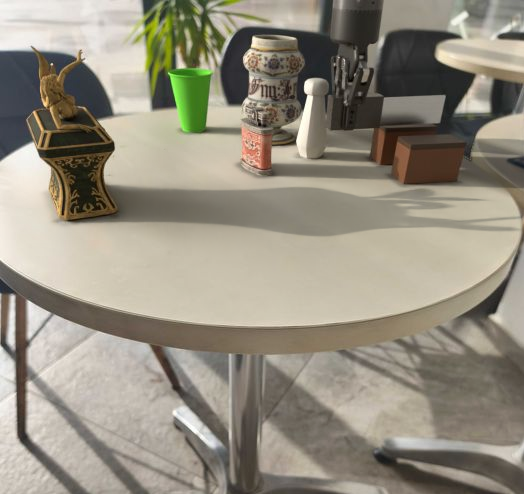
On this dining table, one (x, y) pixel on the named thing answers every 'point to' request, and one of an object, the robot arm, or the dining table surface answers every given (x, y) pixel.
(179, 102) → the cup
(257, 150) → the lighter
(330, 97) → the knife
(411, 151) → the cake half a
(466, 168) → the dining table surface
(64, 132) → the decorative box
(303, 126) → the salt shaker
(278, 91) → the apothecary jar
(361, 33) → the robot arm
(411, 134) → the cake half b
